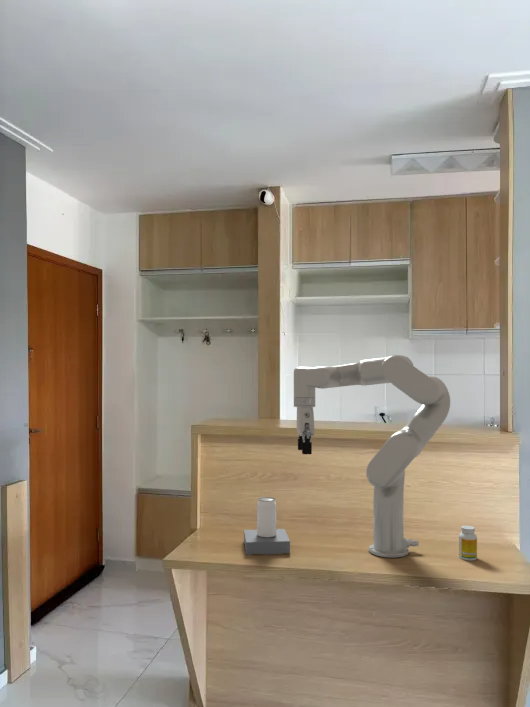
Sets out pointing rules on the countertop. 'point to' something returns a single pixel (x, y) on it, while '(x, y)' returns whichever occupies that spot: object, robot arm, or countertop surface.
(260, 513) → the can
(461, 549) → the supplement bottle
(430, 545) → the countertop surface
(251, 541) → the base block
